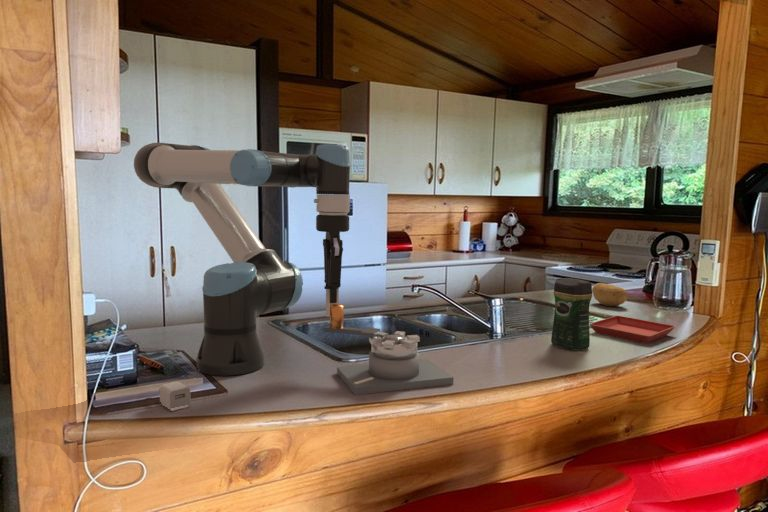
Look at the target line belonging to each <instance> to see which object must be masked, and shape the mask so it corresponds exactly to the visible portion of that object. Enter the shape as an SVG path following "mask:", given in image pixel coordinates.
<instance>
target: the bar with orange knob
mask: <svg viewBox="0 0 768 512" xmlns="http://www.w3.org/2000/svg"><path fill="white" fill-rule="evenodd" d="M324 333H334V334H335V333H336V334H348V335H353V336H354V335H355V336H357V335H358V336H360V337H362V338H368V341H369V343H370V345H371V351H370V352H371V353H372V355H374V356H376V357H379V358H383V359H391V360H401V359H409V358H412V357H415V356H416V355H417V352H418V342H419V343H420V342H421V340H420V339H421V337H420V336H419V335H418V334H411V335H410V334H409V335H406V331H400V330H396V331H395V332H394V333H393V334H389V333H387V332H383V331H381V328H373V327H366V328H361V327H360V328H358V327H348V326H344V304H340V303H339V304H332V305H330V317H329V325H326V326H325V327H324Z"/></svg>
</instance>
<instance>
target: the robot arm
mask: <svg viewBox="0 0 768 512" xmlns="http://www.w3.org/2000/svg"><path fill="white" fill-rule="evenodd" d="M350 154H351V153H350V149H349V147H348V146H347V145H344V144H333V143H331V144H329V143H326V144H325V143H324V144H318V145H316V151H315V154H295V153H284V152H273V151H264V150H258V149H252V148H251V149H250V148H249V149H241V150H236V149H235V150H230V149H229V150H227V149H226V150H225V149H221V150H219V149H216V150H215V149H210V148H208V147H205V146H200V145H194V144H190V145H186V144H177V143H165V142H151V143H147V144H145V145H143V146H142V147H141V148H140V149H138V151H137V152H136V154H135V155H134V159H133V168H134V172H135V174H136V176H137V177H138V179H139V180H140V181H141V182H143V183H144V184H145V185H148V186H149V187H153V188H157V189H175V190H176V191H177V192H178V194H179V195H180V196H181V198H182V199H183V200H184V201H185V202H187V203H192V204H193V205H194V207H195V208H196V209H197V211H198V212H199V213H200V215H201V216H202V218H203V219H204V221H205V222H206V224H207V225H208V226H209V228H210V230H211V232H212V233H213V234H214V236H215V237H216V239H217V240H218V242H219V243H220V244H221V246H222V247H223V249H224V251H225V252H226V253H227V255H228V256H229V258H230V259H231V261H232V262H231V263H222V264H218V265H214V266H212V267H210V268H209V269H206V271H205V272H204V274H203V282H202V283H203V285H202V287H201V289H202V295H203V297H202V299H203V337H202V340H201V344H200V346H199V350H198V353H197V356H196V369H197V368H198V369H199V370H200V371H201V372H200V371H199V372H200V373H203V374H206V375H210V376H211V375H212V376H217V377H218V376H221V377H223V376H224V377H225V376H226V377H227V376H238V375H245V374H248V373H250V374H251V373H253V372H255V371H259V370H260V369H262V368H263V367H264V366H265V352H264V350H263V348H262V347H263V346H262V343H261V341H260V339H259V335H258V333H257V316H260V315H266V314H268V313H273V312H277V311H278V312H279V311H283V310H286V309H288V308H290V307H292V306H294V305H296V303H297V302H298V301H299V300H300V298H301V297H302V293H303V285H304V279H303V275H302V272H301V270H300V269H299V268H298V266H297V265H296V264H294V263H293V262H289V261H283V260H282V259H281V257H280V256H279V255H278V254H277V252H276V251H275V250H274V249H269V248H266V247H265V246H264V244H263V243H262V242H261V240H260V238H259V237H258V236H257V234H256V233H255V231H254V230H253V228H252V227H251V226H250V225H249V223H248V222H247V220H246V219H245V217H244V216H243V214H242V213H241V211H240V210H239V208H238V207H237V205H236V204H235V203H234V202H233V200H232V199H231V197H230V196H229V194H228V193H227V192H226V190H225V189H224V188H223V186H222V185H235V186H237V185H239V186H246V187H279V188H281V187H283V188H284V187H285V188H315V190H316V192H315V193H316V198H314V199H313V203H314V204H316V207H315V208H316V212H317V213H318V214H317V215H316V216H315V218H316V219H315V221H316V222H315V229H316V231H317V232H322V233H323V232H324V233H325V238H323V239H322V247H323V260H324V261H323V264H324V266H323V268H324V269H323V270H324V281H323V282H324V284H325V285H324V290H325V316H326V317H327V318H328V317H329V318H330V305H332V304H340V303H339V293H340V292H339V289H340V288H341V285H342V284H341V282H342V281H341V279H342V278H341V277H342V263H343V261H342V259H343V251H344V247H343V245H344V243H343V240H342V239H341V232H342V233H345V232H346V233H347V232H348V231H349V230H350V216H349V214H348V213H350V208H351V207H350V205H351V204H350V203H351V195H350V176H351V159H350Z"/></svg>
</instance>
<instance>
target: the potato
mask: <svg viewBox="0 0 768 512" xmlns="http://www.w3.org/2000/svg"><path fill="white" fill-rule="evenodd" d="M592 296H593V297H594V299H595V300H596V301H597V302H598V303H600V304H601V305H603V306H606V307H607V306H608V307H610V306H612V307H618V306H620V305H623V304H624V303H625V302H626V301H627V300H628V296H629V294H628V291H626V289H624V288H623V287H621V286H617V285H613V284H608V283H605V282H598V283H595V284H594V285H592Z"/></svg>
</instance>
